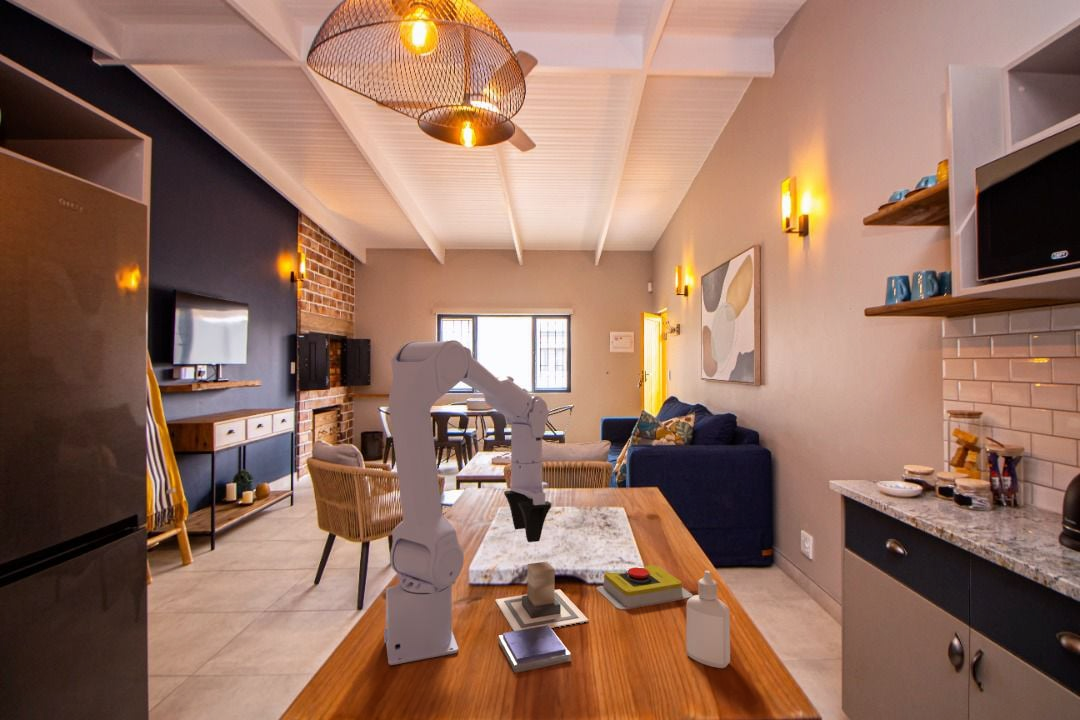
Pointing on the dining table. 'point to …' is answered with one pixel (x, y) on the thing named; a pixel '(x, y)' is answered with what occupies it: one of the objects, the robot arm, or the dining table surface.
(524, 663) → the ink pad
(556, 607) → the stamp
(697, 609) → the eye dropper bottle
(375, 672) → the dining table surface
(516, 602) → the marked card
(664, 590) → the emergency button
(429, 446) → the robot arm
